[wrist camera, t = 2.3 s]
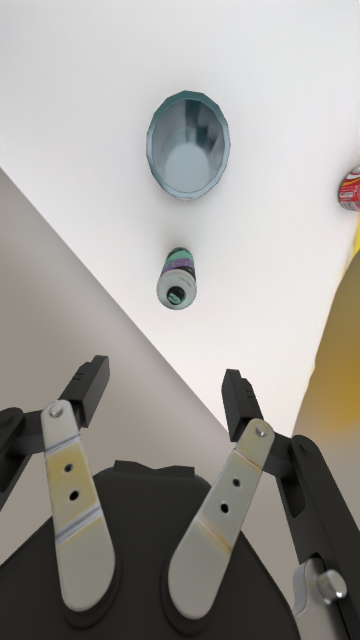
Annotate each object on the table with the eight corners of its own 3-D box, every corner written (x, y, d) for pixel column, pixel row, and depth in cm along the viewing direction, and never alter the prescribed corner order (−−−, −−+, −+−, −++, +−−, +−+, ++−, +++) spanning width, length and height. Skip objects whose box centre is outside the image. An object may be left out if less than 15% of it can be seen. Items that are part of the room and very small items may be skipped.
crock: (155, 196, 37) (145, 193, 28) (158, 118, 32) (147, 84, 23) (212, 203, 37) (220, 202, 28) (224, 127, 32) (238, 97, 23)
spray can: (192, 274, 43) (196, 319, 26) (167, 273, 43) (154, 318, 26) (194, 247, 41) (199, 278, 23) (166, 246, 41) (152, 276, 23)
